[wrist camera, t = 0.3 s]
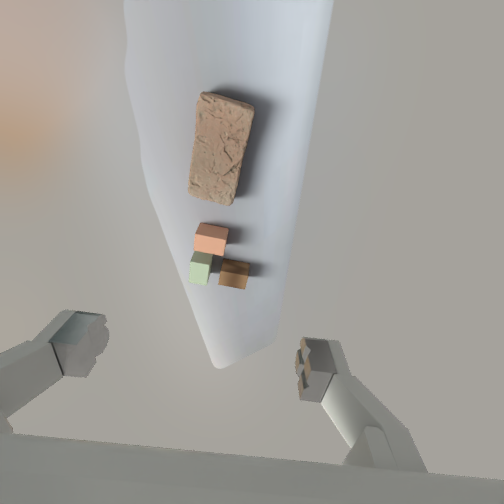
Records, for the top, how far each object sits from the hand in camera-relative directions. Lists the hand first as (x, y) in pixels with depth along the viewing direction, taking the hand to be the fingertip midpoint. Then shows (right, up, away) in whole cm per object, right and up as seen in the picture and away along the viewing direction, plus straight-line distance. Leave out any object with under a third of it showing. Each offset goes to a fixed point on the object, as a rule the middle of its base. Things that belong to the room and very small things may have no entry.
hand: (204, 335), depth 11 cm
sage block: (-9, +1, +48) cm, 49 cm away
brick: (-3, +21, +34) cm, 40 cm away
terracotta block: (-6, +7, +44) cm, 45 cm away
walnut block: (-2, 0, +49) cm, 49 cm away
